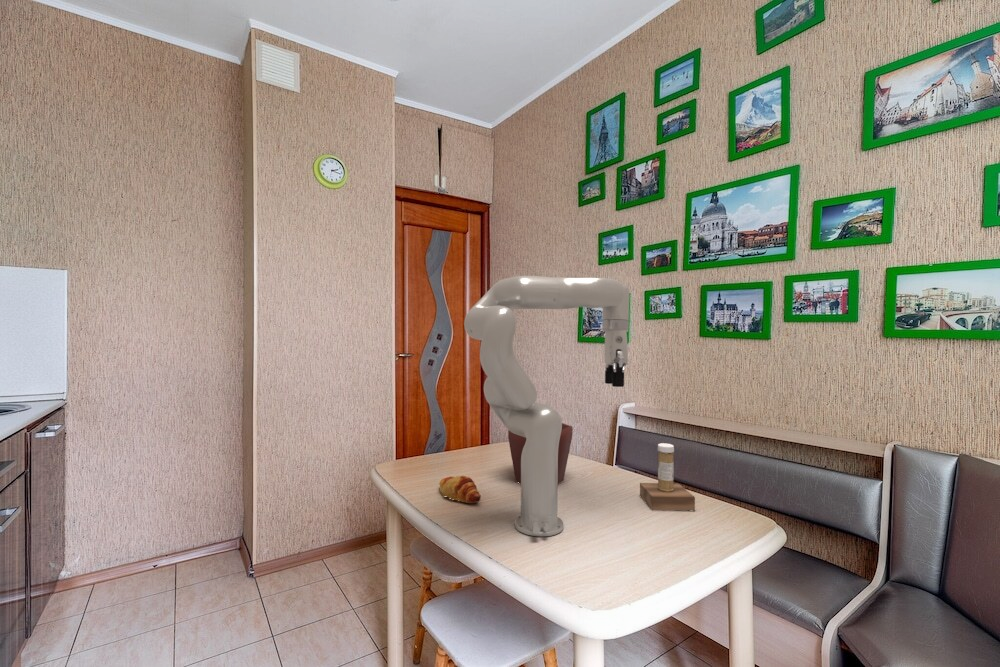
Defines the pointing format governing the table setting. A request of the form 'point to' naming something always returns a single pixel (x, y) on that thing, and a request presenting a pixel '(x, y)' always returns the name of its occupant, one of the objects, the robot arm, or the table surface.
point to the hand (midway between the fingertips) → (614, 385)
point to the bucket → (563, 451)
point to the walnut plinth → (667, 497)
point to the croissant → (460, 489)
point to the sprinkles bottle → (665, 467)
